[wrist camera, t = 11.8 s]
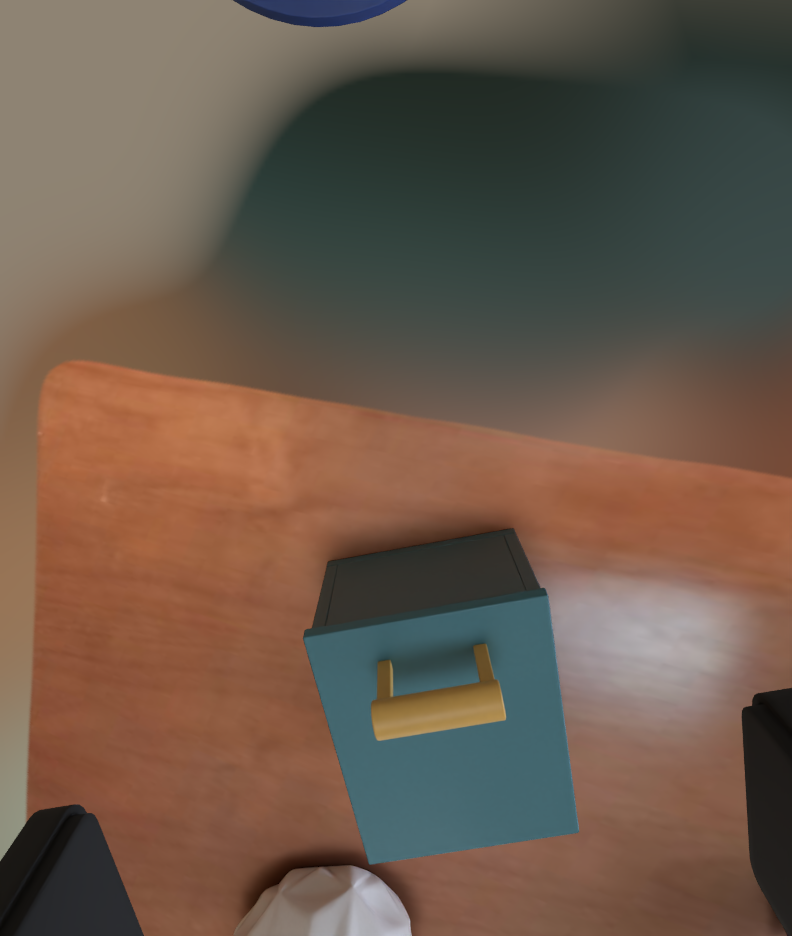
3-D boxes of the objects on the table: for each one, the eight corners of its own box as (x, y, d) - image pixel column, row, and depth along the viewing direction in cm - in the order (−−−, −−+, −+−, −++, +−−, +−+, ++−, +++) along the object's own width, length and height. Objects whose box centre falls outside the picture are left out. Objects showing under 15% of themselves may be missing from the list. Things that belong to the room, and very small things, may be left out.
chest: (327, 561, 44) (310, 628, 36) (513, 527, 44) (541, 588, 35) (374, 752, 49) (369, 853, 40) (544, 725, 48) (575, 821, 40)
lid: (304, 629, 34) (289, 702, 29) (544, 587, 34) (573, 654, 28) (369, 853, 40) (366, 948, 35) (575, 821, 39) (604, 914, 34)
